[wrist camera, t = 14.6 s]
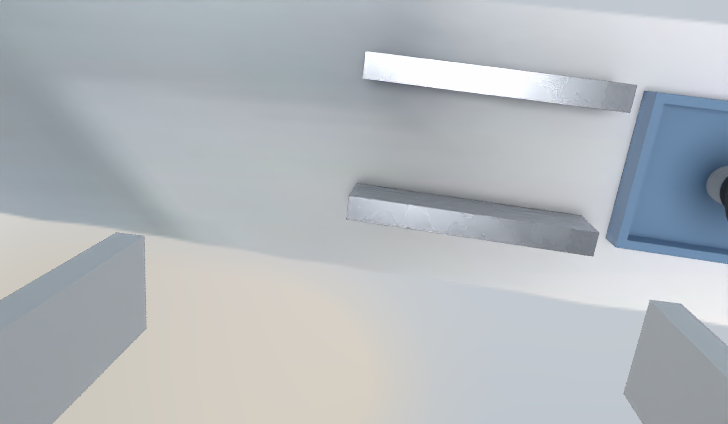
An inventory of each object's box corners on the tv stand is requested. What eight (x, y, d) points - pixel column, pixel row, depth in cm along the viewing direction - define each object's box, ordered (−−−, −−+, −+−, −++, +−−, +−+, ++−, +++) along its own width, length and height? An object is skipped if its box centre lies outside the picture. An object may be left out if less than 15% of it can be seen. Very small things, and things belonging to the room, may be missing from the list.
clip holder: (354, 204, 38) (346, 219, 35) (372, 53, 36) (365, 51, 32) (576, 237, 37) (593, 256, 33) (613, 83, 34) (637, 85, 30)
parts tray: (605, 238, 37) (615, 247, 35) (644, 91, 34) (657, 92, 32) (787, 264, 36) (807, 275, 34) (842, 115, 33) (867, 118, 31)
